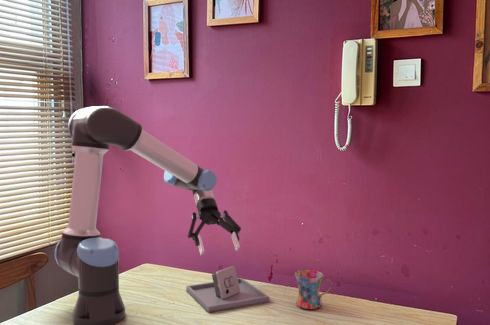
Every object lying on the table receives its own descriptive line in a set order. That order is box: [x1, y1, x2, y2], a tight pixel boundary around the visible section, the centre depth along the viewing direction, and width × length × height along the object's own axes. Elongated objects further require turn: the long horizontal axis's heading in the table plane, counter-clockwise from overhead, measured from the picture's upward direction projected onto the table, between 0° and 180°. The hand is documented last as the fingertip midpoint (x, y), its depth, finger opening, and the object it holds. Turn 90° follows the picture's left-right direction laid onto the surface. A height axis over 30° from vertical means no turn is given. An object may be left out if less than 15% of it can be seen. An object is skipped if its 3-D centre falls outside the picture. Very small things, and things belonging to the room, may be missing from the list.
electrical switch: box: [211, 265, 240, 299], centre depth 155 cm, size 9×5×9 cm, turn 141°
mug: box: [294, 269, 333, 310], centre depth 147 cm, size 12×9×11 cm
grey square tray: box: [185, 277, 270, 314], centre depth 155 cm, size 22×22×2 cm
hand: (220, 251), depth 160 cm, fingers open, 13 cm apart
